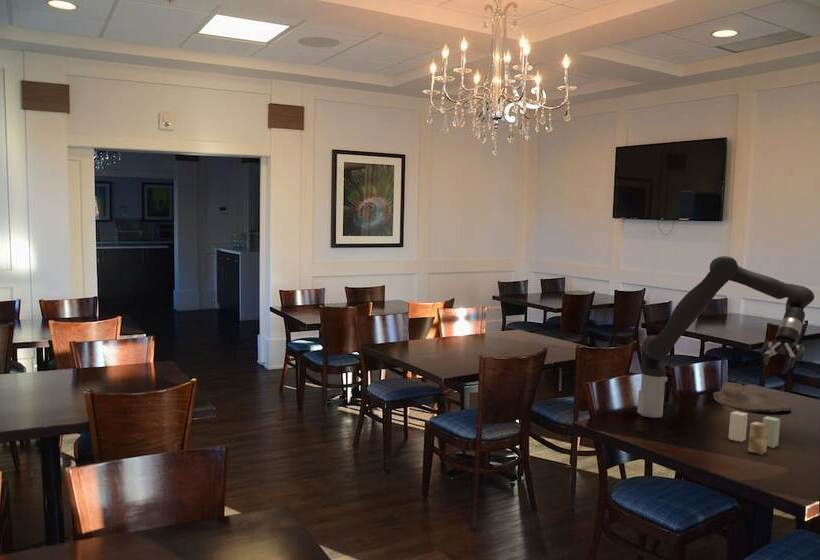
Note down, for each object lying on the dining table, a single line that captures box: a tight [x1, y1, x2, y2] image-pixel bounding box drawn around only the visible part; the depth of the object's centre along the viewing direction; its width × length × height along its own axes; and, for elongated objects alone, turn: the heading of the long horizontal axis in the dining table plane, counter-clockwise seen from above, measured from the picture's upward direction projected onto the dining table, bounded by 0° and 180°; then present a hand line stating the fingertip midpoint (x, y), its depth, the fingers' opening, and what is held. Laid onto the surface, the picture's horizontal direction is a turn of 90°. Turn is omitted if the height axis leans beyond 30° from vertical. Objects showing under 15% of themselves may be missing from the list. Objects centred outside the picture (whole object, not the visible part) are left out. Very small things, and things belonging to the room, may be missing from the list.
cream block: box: [728, 410, 749, 443], centre depth 259 cm, size 4×4×10 cm
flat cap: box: [712, 381, 792, 413], centre depth 310 cm, size 26×14×28 cm
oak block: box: [747, 421, 769, 455], centre depth 246 cm, size 4×4×10 cm
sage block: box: [761, 415, 781, 449], centre depth 254 cm, size 4×4×10 cm
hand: (777, 365), depth 262 cm, fingers open, 8 cm apart
